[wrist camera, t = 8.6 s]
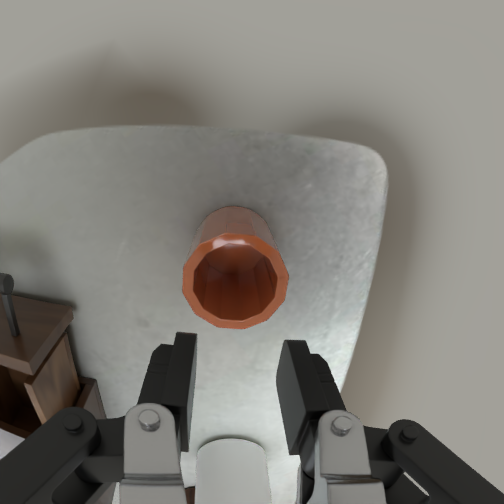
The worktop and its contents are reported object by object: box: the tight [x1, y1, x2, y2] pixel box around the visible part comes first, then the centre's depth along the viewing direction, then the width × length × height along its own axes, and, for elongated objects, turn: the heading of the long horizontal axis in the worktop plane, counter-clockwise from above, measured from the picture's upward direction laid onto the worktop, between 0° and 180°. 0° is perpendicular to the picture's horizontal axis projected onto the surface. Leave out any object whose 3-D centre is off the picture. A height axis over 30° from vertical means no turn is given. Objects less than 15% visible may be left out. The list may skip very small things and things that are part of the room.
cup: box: [182, 206, 289, 329], centre depth 20 cm, size 6×6×7 cm
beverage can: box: [195, 439, 272, 504], centre depth 26 cm, size 8×8×12 cm
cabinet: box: [0, 376, 116, 504], centre depth 25 cm, size 17×13×10 cm
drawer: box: [0, 273, 82, 433], centre depth 21 cm, size 20×12×8 cm, turn 173°
